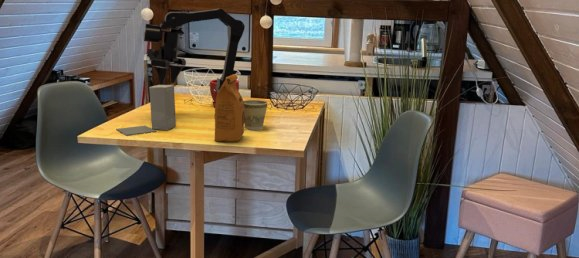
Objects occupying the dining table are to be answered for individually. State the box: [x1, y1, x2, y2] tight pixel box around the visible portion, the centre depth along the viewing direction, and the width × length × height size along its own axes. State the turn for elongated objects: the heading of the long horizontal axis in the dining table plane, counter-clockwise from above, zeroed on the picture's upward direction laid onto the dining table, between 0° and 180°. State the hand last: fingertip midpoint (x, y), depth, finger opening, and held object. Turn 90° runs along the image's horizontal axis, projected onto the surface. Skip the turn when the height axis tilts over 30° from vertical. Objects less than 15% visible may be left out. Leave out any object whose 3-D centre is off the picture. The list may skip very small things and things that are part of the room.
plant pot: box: [209, 79, 240, 107], centre depth 235 cm, size 13×13×12 cm
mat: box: [115, 125, 157, 137], centre depth 187 cm, size 11×10×1 cm
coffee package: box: [214, 73, 245, 142], centre depth 178 cm, size 10×12×22 cm
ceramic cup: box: [243, 99, 268, 131], centre depth 197 cm, size 13×10×10 cm
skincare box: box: [148, 84, 177, 131], centre depth 191 cm, size 8×7×16 cm
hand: (167, 83), depth 207 cm, fingers open, 9 cm apart
